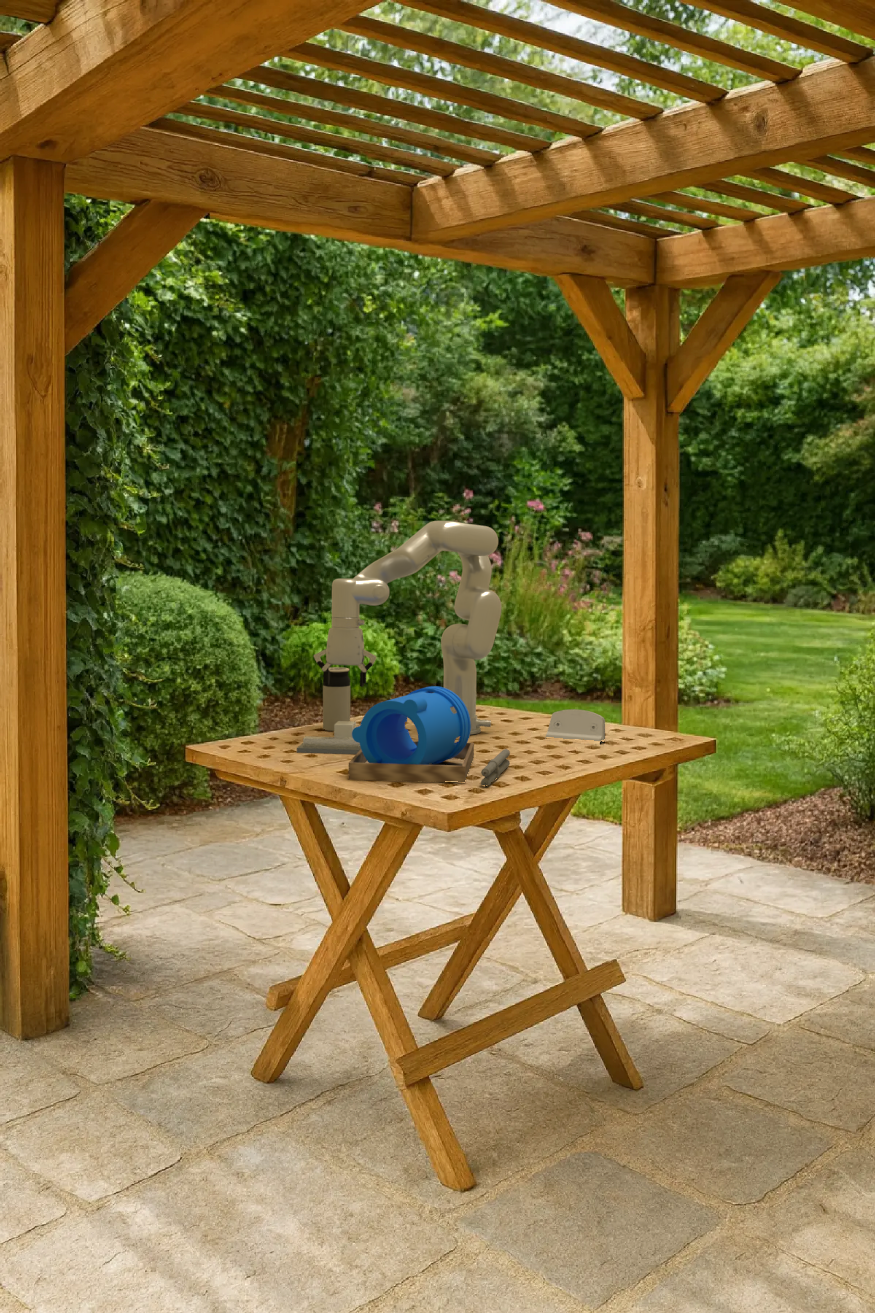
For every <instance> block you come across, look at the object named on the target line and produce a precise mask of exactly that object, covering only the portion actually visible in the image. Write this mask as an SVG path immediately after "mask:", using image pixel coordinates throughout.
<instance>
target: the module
mask: <svg viewBox="0 0 875 1313" xmlns="http://www.w3.org/2000/svg"><path fill="white" fill-rule="evenodd" d="M356 727H357V721H355V720H354V721H352V720H350V721H338V722H337V723H336V724H335V725H334V732H333V733H334V734H333V737H345V738H353V737H352V731H353V729H354V728H356Z"/></svg>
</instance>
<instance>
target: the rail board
mask: <svg viewBox="0 0 875 1313" xmlns="http://www.w3.org/2000/svg"><path fill="white" fill-rule="evenodd" d="M360 749H361V747H360V743H358V742H356V741H355V740H354V739H353V738H345V737H334V736H308V735H307V736H304V737H302V743H301V744H300V745H299V746H297V747H296V753H302V754H303V753H305V754H309V753H310V754H333V755H334V754H335V755H336V754H337V755H340V754H341V755H356V754H357V753H358V752H359V750H360Z"/></svg>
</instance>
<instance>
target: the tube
mask: <svg viewBox="0 0 875 1313" xmlns="http://www.w3.org/2000/svg"><path fill="white" fill-rule="evenodd" d="M453 706H454V708H455V710H456V712H457V713H455V714H454V713H453V712H452V711H451V709H450V707H453ZM408 719H409V720H410V721H411V722H412V724H413V726H414V727H415V728H416V732H417V741H418V744H417V746H416V745H415V743H414V742H413V741H414V740H413V739H412V737H411V735H410V732H409V729H408V728H407V729H406V723H407V722H408ZM470 731H471V721H470V716H469V712H468V710H467V708H466V706H465V704H464V702H463V701H462V700H461V699H460V698H459V697H458V696H457V695H456V694H455V693H454V692H452V691H450V690H448V689H446V688H444V686H443V687H442V686H434V685H431V686H426V687H422V688H419V689H415V690H412V691H411V692H409V693H408V694H406V695H403V696H399V697H396V698H392V699H388V700H387V699H386V700H385V701H381V702H378V703H376V704H374V705H373V706H371V707H370V708H369V709H368V710H367V711H366V713H365V714H364V716H362V720H361V722H360V725H359V726H356V728H354V729H353V731H352V737H353V739H354V740H355V741H356V742H358V743H360V747H361V750H362V753H363V755H364V757H365V758H366V760H367V761H366V762H367V763H387V764H418V765H439V764H441V763H443V762H445V761H448V760H451V759H454V758H453V757H455V756H456V755H458V754H459V753H460V752H461V751H462V750H463V749H464V747H465V746H466V744H467V743H469V739H470V736H471V734H470ZM457 738H459V739H458V741H456V739H457ZM454 742H456V743H454Z"/></svg>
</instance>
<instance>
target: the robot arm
mask: <svg viewBox="0 0 875 1313" xmlns="http://www.w3.org/2000/svg"><path fill="white" fill-rule="evenodd" d="M498 545H499V538H498V534H497V532H496V531H495V530H494V529H493V528H492V527H489V526H486V525H479V524H471V523H463V522H458V521H453V520H434V521H430V522H428V523H426V524H425V525H424V526H423V527H421V528H420V529H419V530H417V532H416V533H415V534H413V535H412V536H410V538H409V539H407V540H406V541H405V542H404V543H402V544H401V545H400V546H399V547H397V548H396V549H394V550H393V551H391V552H389V553H387V554H386V555H384V556H382V557H380V558H378V559H376V560H375V561H373V562H372V563H370V564H368V565H367V566H366V567H365V568H364V569H363V570H361V571H360V572H359V573H358V574H357V575H355V576H354V577H353V578H336V579H334V580H333V581H332V583H331V584H332V585H331V627H330V628H328V633H327V634H328V635H327V640H326V648H325V649H323V650H321V651H319V652H317V653H315V654H313V658H314V660H315V661H316V665H317V666H318V667H319V668H320V669H321V670H322V672H323V678H322V680H323V681H322V683H323V682H325V686H328V685H329V684H330V671H329V668H331V666H357V667H358V668H359V669H360V673H359V687H361V688H363V687H365V684H367V672H368V670H370V668H371V667H373V665H374V663H375V662H376V660H377V656H376V655H375V654H373V653H371V652H370V651H368V650H366V649H365V641H364V640H365V639H364V634H363V633H364V632H363V628H361V626H363V625H365V619H361V618H360V605H368V606H379V605H382V604H384V603H385V602H386V601H387V600H388V599H389V596H390V587H389V586H388V583H392V582H393V581H395V580H398V579H400V578H401V579H402V578H405V577H409V576H411V575H413V574H415V573H418V571H420V570H421V569H423V567H425V566H426V564H428V563H429V562H430V561H432V559H434V557H436V556H437V555H438V554H439V553H441V552H443V551H444V552H451V553H452V552H453V553H457V555H458V556H459V558H460V561H461V565H462V571H461V578H460V582H459V586H458V589H457V593H456V597H455V600H454V606H453V607H454V608H453V609H454V613H455V615H456V616H457V617H458V618H460V619H462V620H464V621H468V624H464V623H454V624H451V625H448V626H447V627H446V628H445V630H444V631H443V633H442V635H441V640H440V644H441V645H440V646H441V653H442V659H443V688H446V689H448V690H450V691H452V692H454V693H455V694H456V695H457V696H458V697H459V698H460V699H461V700H462V701H463V702H464V704H465V706H466V708H467V710H468V712H469V716H470V721H471V731H470V735H475V734H480V733H481V731H482V729H481V727H485V728H487V727H488V728H489V727H490V728H491V726H492V721H491V720H488V719H479V718H478V714H477V713H476V712H477V666H476V665H477V664H476V662H475V660H477V661H478V660H482V659H484V658H486V657H487V656H488V655H489V654H490V653H491V651H492V648H493V646H494V644H495V639H496V636H497V631H498V628H499V623H500V620H501V615H502V602H501V599H500V597H499V596H498V594H497V593H496V592H495V591H493V590H491V589H490V584H491V583H490V582H491V578H492V564H491V560H490V558H489V556H490V555H492V554H493V553H494V552H495V551H496V550H497V548H498ZM322 656H325V661H326V663H324V662H323V661H322V659H321V657H322ZM365 657H367V658H368V659H369V661H368V663H367V664H365V663H364V662H365ZM450 709H451V711H452V712H453V713H454V714H455V713H457V712H456V710H455V708H454V706H453V707H450ZM476 714H477V715H476Z"/></svg>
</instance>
